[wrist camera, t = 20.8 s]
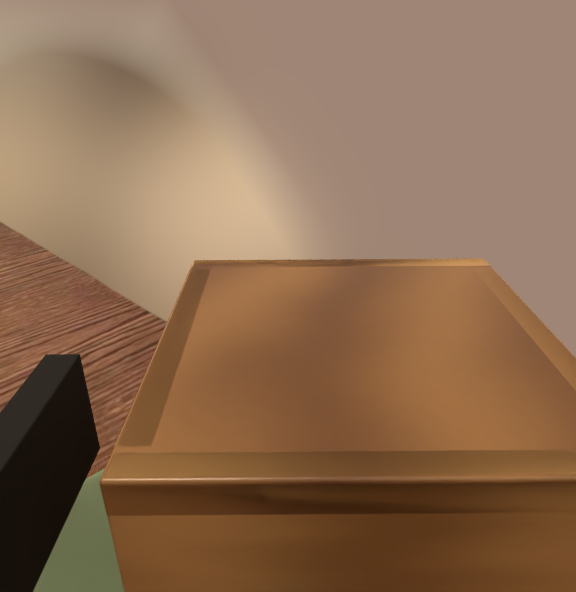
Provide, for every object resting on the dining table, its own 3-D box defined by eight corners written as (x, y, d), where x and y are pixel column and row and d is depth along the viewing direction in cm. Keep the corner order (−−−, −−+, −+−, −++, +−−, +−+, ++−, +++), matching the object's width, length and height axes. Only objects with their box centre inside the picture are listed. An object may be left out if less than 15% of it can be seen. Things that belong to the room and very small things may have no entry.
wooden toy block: (446, 474, 20) (484, 257, 16) (556, 770, 12) (690, 477, 8) (213, 476, 20) (193, 259, 16) (163, 773, 12) (97, 481, 8)
